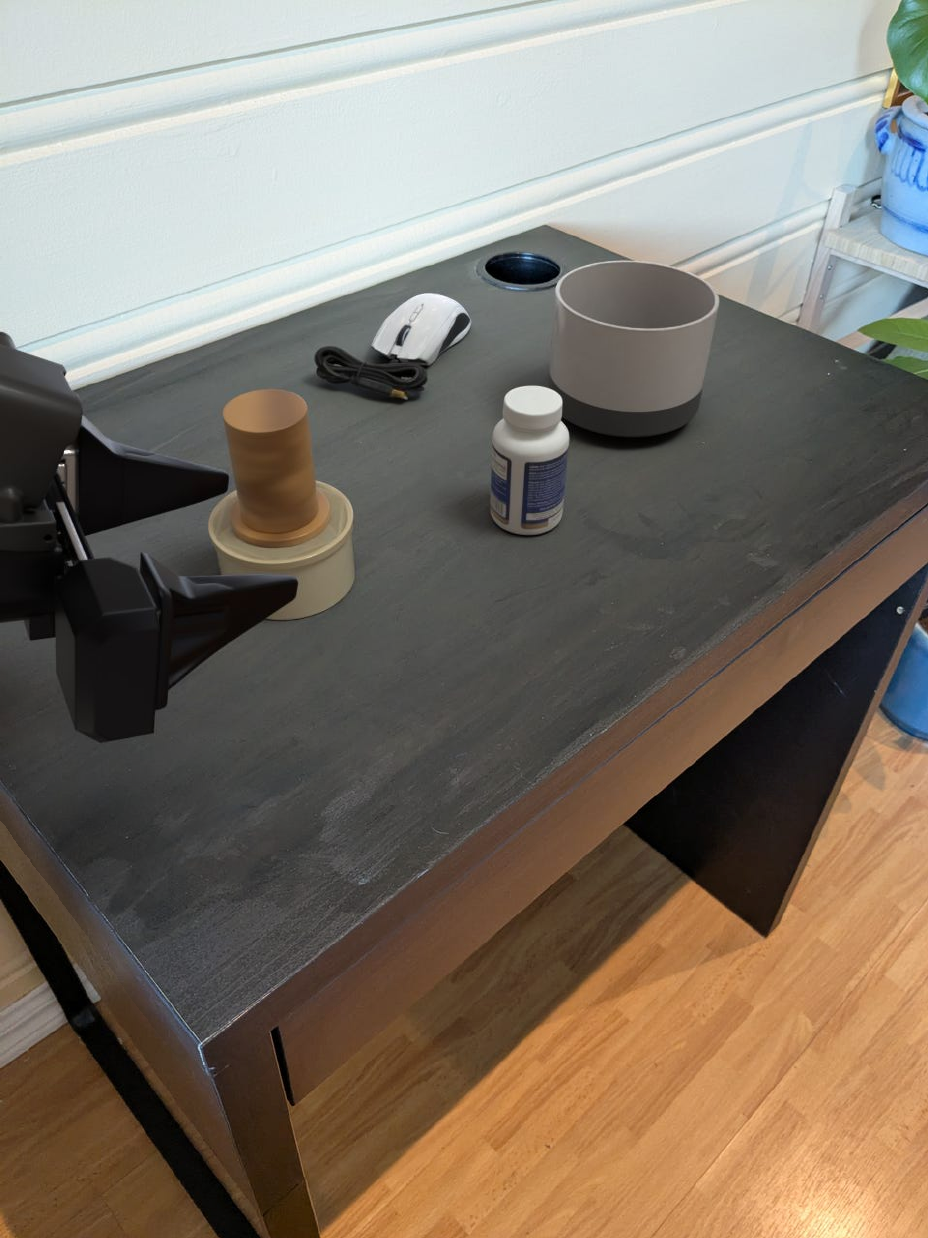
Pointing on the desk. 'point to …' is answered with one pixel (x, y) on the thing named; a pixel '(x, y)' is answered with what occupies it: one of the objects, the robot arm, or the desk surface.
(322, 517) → the flanged wooden cylinder
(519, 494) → the pill bottle
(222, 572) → the cream ceramic pot
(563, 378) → the planter
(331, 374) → the computer mouse
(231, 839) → the desk surface
